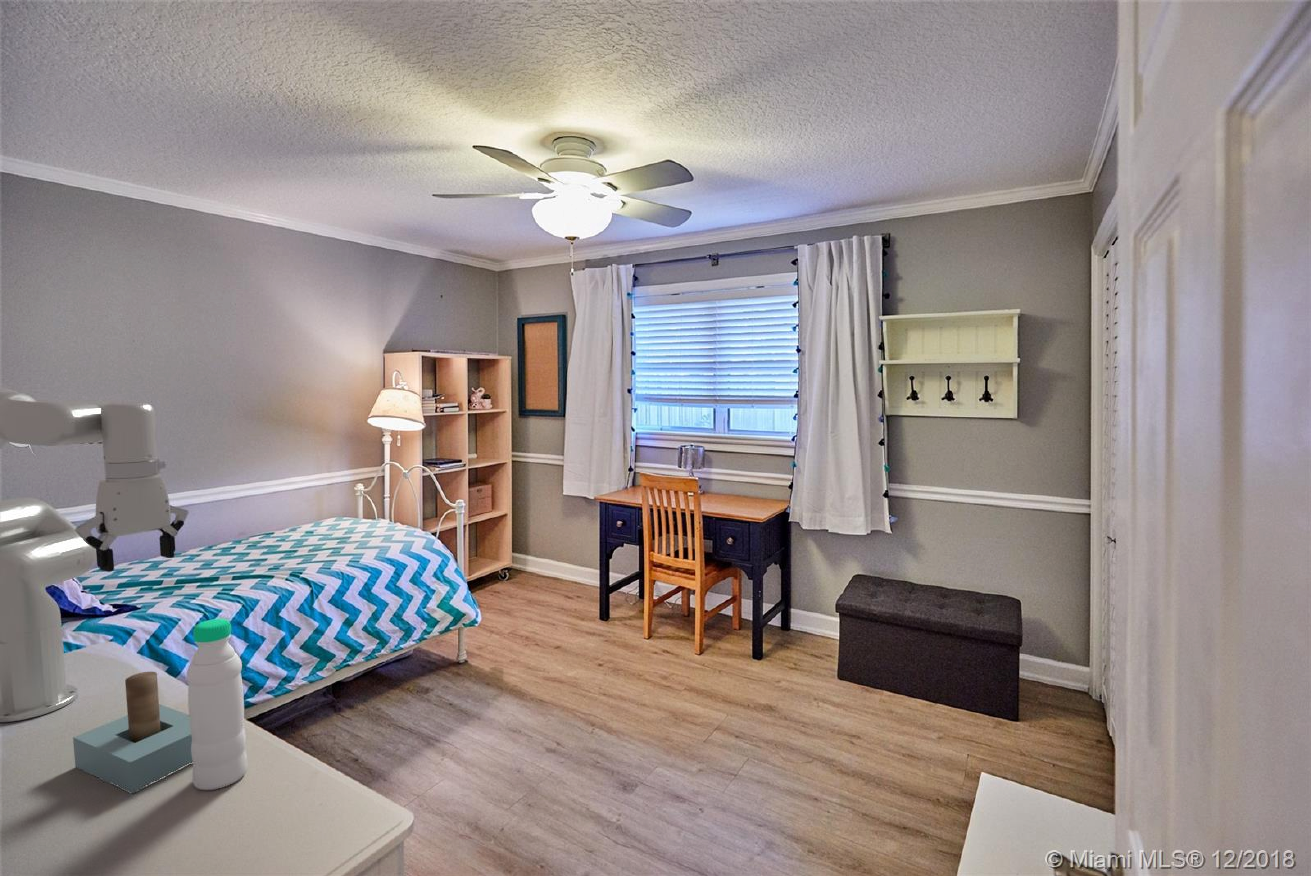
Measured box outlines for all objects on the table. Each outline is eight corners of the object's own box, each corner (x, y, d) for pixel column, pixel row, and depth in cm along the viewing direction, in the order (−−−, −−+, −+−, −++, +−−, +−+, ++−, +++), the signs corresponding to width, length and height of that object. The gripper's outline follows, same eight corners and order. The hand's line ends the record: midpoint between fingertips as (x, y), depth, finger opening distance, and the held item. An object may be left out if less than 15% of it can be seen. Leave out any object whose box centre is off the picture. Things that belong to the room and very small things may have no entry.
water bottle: (220, 795, 96) (211, 633, 94) (181, 789, 98) (171, 629, 96) (258, 767, 103) (250, 616, 101) (221, 762, 105) (212, 612, 102)
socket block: (75, 767, 103) (73, 737, 103) (158, 730, 114) (157, 703, 114) (132, 794, 97) (130, 762, 96) (215, 752, 107) (213, 723, 107)
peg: (125, 763, 104) (119, 679, 103) (153, 750, 108) (148, 669, 107) (139, 769, 103) (134, 684, 101) (167, 756, 106) (162, 674, 105)
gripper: (172, 464, 126) (177, 550, 127) (61, 475, 110) (68, 573, 112) (195, 466, 123) (200, 554, 124) (85, 478, 107) (92, 579, 109)
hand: (138, 563), depth 118 cm, fingers open, 9 cm apart
